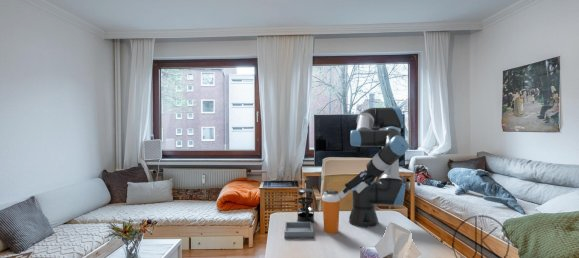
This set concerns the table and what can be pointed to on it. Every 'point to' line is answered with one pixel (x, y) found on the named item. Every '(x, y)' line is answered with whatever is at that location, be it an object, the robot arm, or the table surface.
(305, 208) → the french press
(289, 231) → the tray
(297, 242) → the table surface
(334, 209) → the shaker bottle
